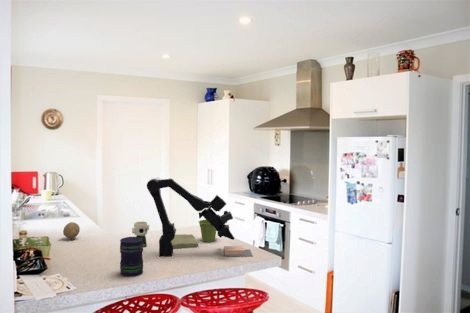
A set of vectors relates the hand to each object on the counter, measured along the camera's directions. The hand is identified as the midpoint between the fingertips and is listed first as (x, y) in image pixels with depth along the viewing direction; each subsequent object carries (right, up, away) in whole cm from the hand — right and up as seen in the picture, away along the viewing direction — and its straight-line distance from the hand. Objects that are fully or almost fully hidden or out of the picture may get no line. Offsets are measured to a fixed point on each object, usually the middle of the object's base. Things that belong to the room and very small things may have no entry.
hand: (233, 239), depth 205 cm
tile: (-5, -6, 0) cm, 8 cm away
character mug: (-51, -7, +13) cm, 53 cm away
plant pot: (-15, -6, +26) cm, 30 cm away
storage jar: (-45, -9, -30) cm, 55 cm away
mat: (+3, -8, +1) cm, 8 cm away
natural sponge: (-94, -6, +26) cm, 98 cm away
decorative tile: (-31, -7, +19) cm, 37 cm away
